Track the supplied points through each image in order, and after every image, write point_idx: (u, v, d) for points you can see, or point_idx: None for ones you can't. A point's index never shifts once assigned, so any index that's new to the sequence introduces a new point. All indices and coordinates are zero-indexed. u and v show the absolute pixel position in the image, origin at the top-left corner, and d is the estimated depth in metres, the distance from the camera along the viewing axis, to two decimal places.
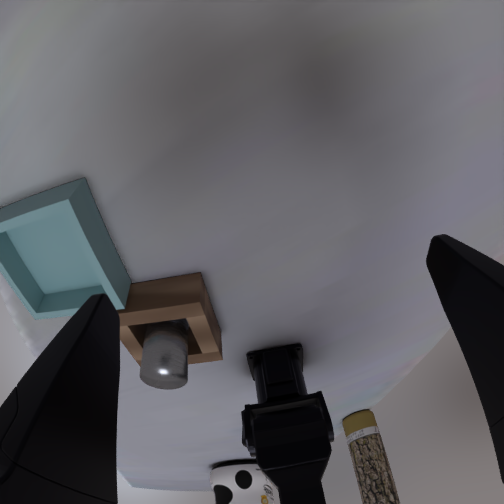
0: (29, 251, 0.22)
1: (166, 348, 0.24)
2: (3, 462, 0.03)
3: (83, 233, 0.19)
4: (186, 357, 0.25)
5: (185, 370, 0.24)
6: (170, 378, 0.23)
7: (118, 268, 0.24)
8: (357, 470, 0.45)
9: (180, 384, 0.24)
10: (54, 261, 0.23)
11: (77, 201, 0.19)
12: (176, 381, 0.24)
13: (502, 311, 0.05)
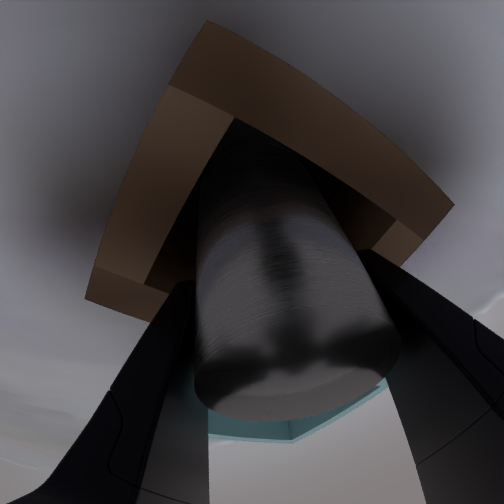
0: None
1: None
2: (119, 488, 0.03)
3: None
4: (203, 283, 0.06)
5: (199, 346, 0.05)
6: (277, 376, 0.05)
7: None
8: None
9: (305, 331, 0.04)
10: None
11: None
12: (284, 356, 0.05)
13: (418, 344, 0.05)
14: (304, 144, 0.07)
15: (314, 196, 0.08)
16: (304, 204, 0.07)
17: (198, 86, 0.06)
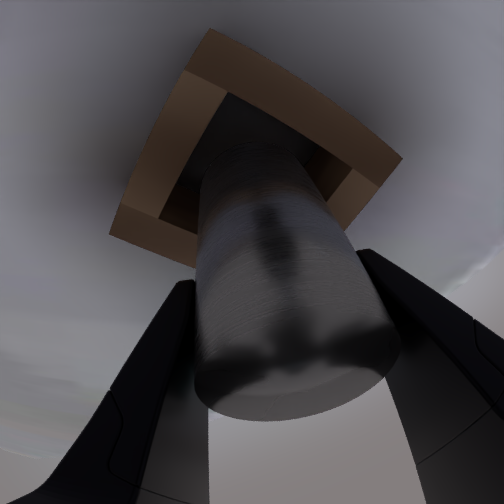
0: None
1: None
2: (119, 488, 0.03)
3: None
4: (203, 282, 0.06)
5: (199, 346, 0.05)
6: (276, 376, 0.05)
7: None
8: None
9: (304, 330, 0.04)
10: None
11: None
12: (284, 355, 0.05)
13: (417, 344, 0.05)
14: (276, 109, 0.09)
15: (314, 196, 0.08)
16: (304, 203, 0.07)
17: (203, 71, 0.08)
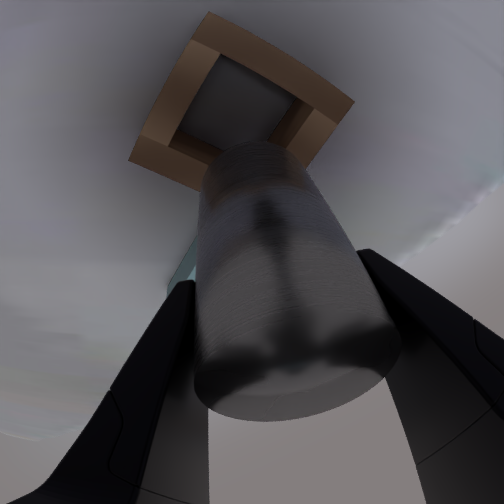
0: None
1: None
2: (119, 488, 0.03)
3: None
4: (203, 282, 0.06)
5: (199, 346, 0.05)
6: (277, 375, 0.05)
7: None
8: None
9: (305, 330, 0.04)
10: None
11: None
12: (284, 355, 0.05)
13: (417, 344, 0.05)
14: (254, 65, 0.13)
15: (314, 195, 0.08)
16: (304, 203, 0.07)
17: (204, 39, 0.12)
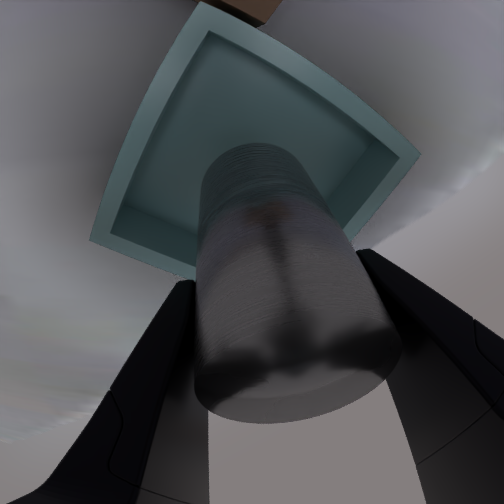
0: None
1: None
2: (120, 489, 0.03)
3: (107, 188, 0.11)
4: (203, 285, 0.06)
5: (199, 349, 0.05)
6: (277, 379, 0.05)
7: None
8: None
9: (306, 333, 0.04)
10: None
11: None
12: (285, 358, 0.05)
13: (417, 344, 0.05)
14: None
15: (314, 197, 0.08)
16: (304, 205, 0.07)
17: None
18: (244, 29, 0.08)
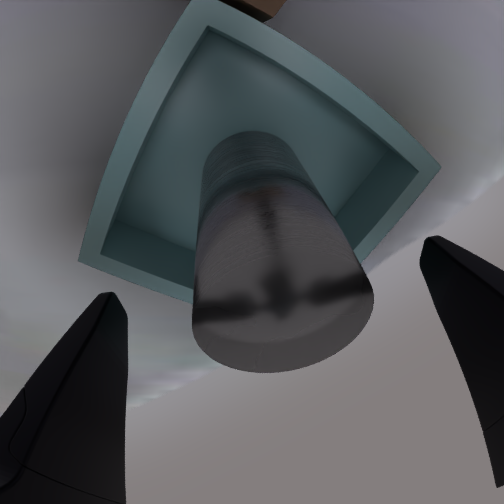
0: None
1: None
2: (12, 466, 0.03)
3: (95, 205, 0.10)
4: (202, 241, 0.07)
5: (197, 288, 0.06)
6: (263, 316, 0.06)
7: None
8: None
9: (283, 267, 0.06)
10: None
11: None
12: (268, 293, 0.06)
13: (495, 314, 0.05)
14: None
15: (300, 173, 0.09)
16: (290, 177, 0.08)
17: None
18: (249, 24, 0.07)
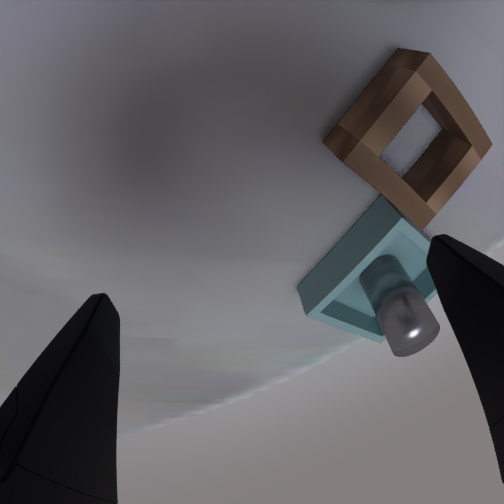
0: None
1: (385, 335, 0.21)
2: (3, 462, 0.03)
3: (330, 293, 0.22)
4: (393, 315, 0.20)
5: (398, 331, 0.19)
6: (413, 338, 0.19)
7: (365, 225, 0.22)
8: None
9: (424, 325, 0.18)
10: None
11: (309, 301, 0.24)
12: (418, 331, 0.19)
13: (502, 311, 0.05)
14: (448, 106, 0.14)
15: (414, 285, 0.22)
16: (414, 290, 0.21)
17: (424, 75, 0.13)
18: (413, 231, 0.20)
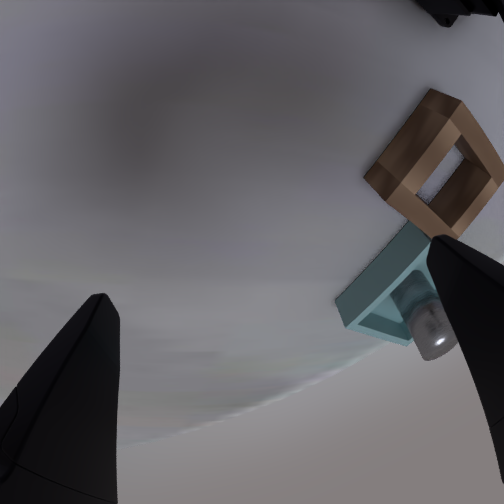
0: None
1: (415, 342, 0.23)
2: (3, 462, 0.03)
3: (367, 308, 0.25)
4: (422, 326, 0.22)
5: (428, 341, 0.21)
6: (440, 345, 0.21)
7: (397, 246, 0.24)
8: None
9: (449, 334, 0.20)
10: None
11: (347, 314, 0.26)
12: (444, 340, 0.21)
13: (502, 311, 0.05)
14: (474, 146, 0.16)
15: (438, 297, 0.24)
16: (439, 302, 0.23)
17: (456, 121, 0.15)
18: None
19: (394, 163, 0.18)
